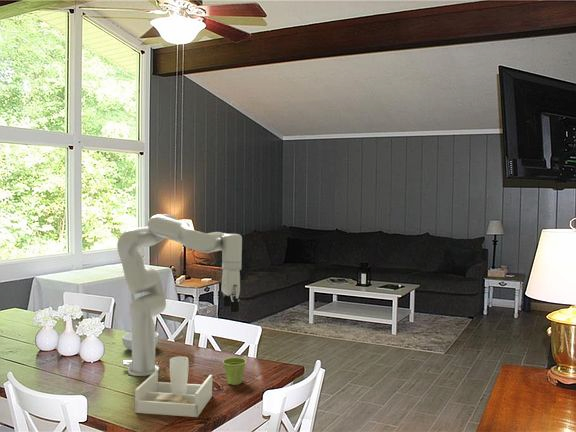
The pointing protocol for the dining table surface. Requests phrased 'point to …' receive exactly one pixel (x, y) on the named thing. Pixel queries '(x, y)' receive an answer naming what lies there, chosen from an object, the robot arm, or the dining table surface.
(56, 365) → the dining table surface
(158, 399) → the offcut stack
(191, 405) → the tray
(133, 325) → the robot arm
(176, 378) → the drinking glass
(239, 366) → the plant pot
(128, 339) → the cereal bowl
